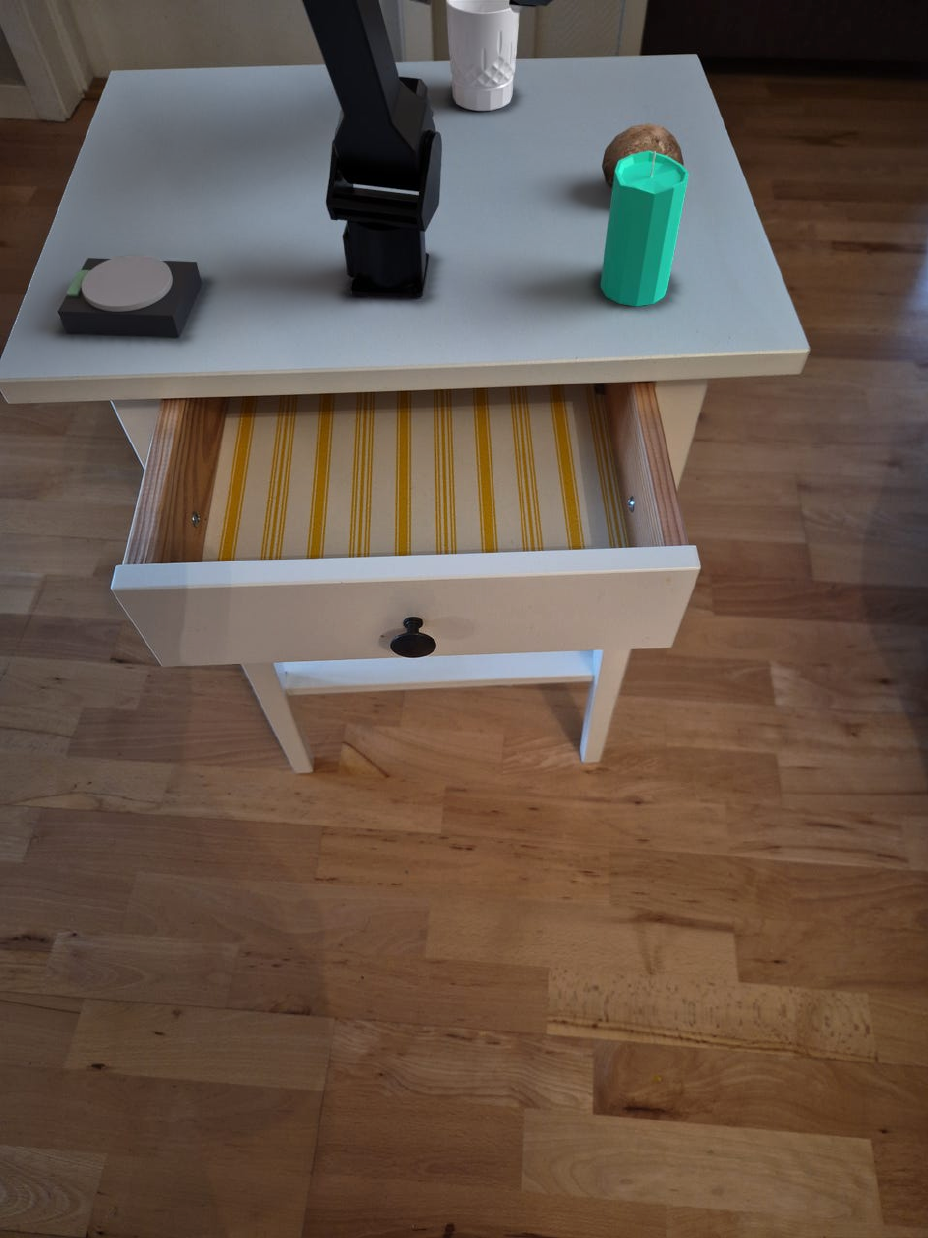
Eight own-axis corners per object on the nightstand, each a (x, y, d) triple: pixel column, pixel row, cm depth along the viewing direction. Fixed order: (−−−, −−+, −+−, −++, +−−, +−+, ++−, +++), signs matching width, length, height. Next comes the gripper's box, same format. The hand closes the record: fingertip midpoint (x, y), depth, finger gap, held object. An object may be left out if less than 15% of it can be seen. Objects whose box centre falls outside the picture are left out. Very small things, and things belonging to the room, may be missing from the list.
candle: (598, 266, 83) (614, 133, 73) (664, 267, 83) (688, 133, 73) (602, 306, 80) (619, 170, 70) (670, 306, 79) (697, 171, 70)
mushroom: (607, 130, 92) (631, 94, 86) (675, 167, 93) (704, 134, 87) (580, 200, 91) (602, 168, 85) (649, 236, 92) (676, 207, 86)
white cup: (510, 116, 101) (513, 15, 92) (441, 111, 102) (438, 10, 94) (522, 85, 105) (526, -15, 97) (455, 79, 106) (454, -20, 98)
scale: (202, 283, 82) (195, 255, 80) (179, 337, 78) (170, 309, 75) (95, 279, 83) (85, 251, 81) (66, 333, 78) (53, 304, 76)
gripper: (567, -194, 74) (578, -78, 89) (351, -206, 77) (397, -91, 92) (543, -45, 76) (558, 44, 91) (333, -62, 79) (381, 27, 94)
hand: (473, 3), depth 92 cm, fingers open, 9 cm apart
